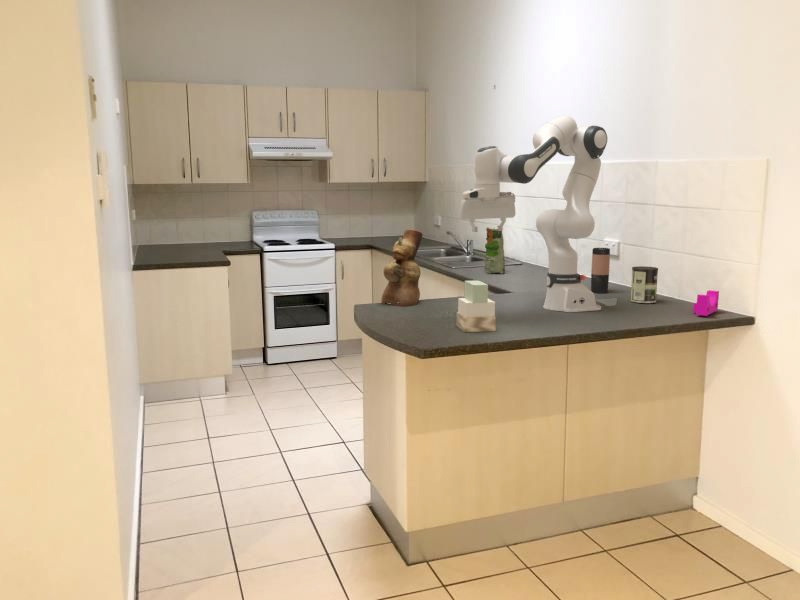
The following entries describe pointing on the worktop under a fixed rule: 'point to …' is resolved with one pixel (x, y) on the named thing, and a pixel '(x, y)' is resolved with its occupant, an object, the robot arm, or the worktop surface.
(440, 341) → the worktop surface
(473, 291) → the green bar
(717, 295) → the toy block
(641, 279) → the coffee can
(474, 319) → the tower base
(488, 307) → the tower top
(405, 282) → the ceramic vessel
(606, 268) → the travel mug
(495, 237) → the pouch
